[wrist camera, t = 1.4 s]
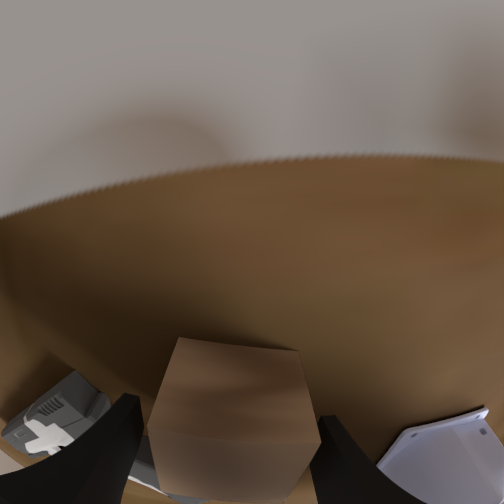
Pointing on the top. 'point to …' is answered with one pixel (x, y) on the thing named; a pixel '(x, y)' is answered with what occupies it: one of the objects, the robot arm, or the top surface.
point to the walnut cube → (232, 423)
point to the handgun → (75, 428)
